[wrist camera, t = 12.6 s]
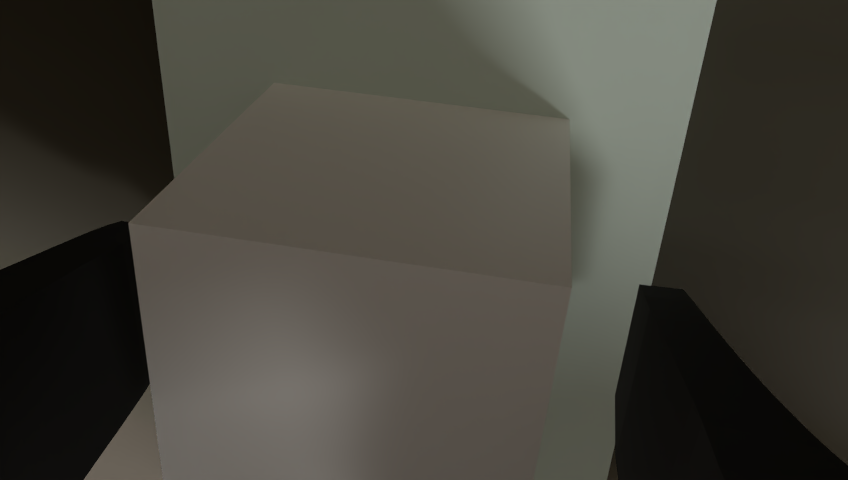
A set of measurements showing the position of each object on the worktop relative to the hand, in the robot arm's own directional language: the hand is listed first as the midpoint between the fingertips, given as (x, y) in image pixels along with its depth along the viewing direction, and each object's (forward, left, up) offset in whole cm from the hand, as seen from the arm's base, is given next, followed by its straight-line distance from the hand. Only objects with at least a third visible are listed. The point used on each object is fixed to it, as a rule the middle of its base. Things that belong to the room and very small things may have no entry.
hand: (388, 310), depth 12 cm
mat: (0, 0, -2) cm, 2 cm away
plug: (-1, 0, -2) cm, 2 cm away
